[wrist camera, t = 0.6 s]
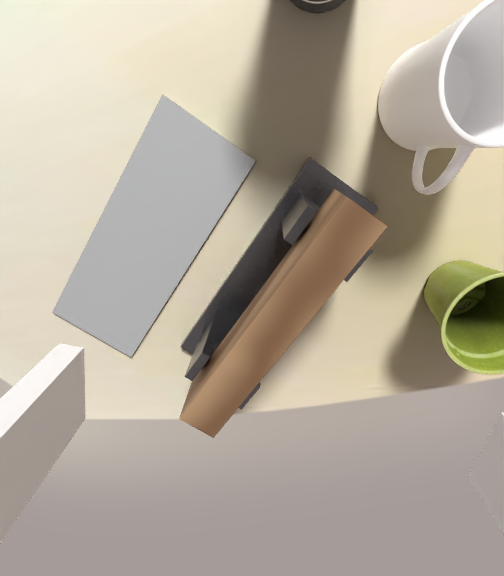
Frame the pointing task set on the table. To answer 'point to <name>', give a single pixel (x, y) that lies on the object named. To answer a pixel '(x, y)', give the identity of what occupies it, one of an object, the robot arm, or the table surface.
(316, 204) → the stand
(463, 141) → the mug
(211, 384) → the rail
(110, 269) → the mat
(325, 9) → the coffee cup
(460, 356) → the plant pot
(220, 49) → the table surface
